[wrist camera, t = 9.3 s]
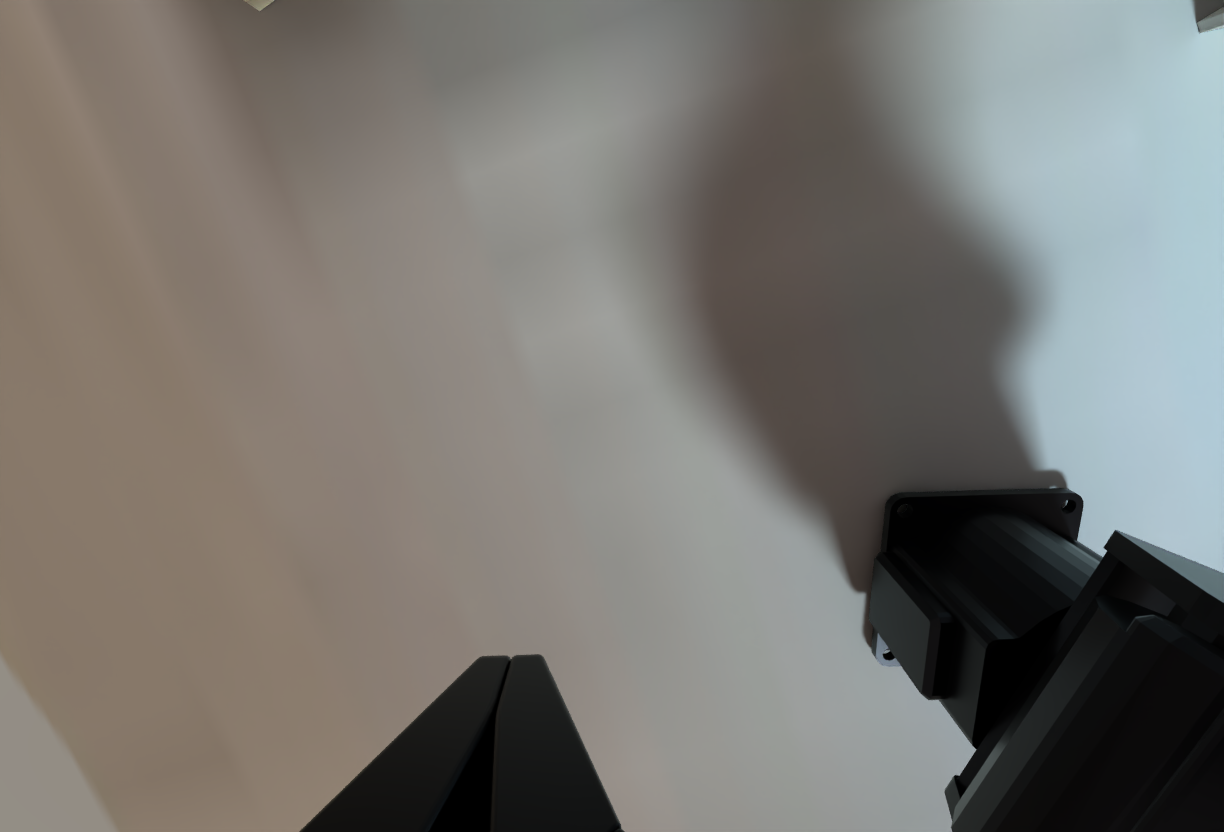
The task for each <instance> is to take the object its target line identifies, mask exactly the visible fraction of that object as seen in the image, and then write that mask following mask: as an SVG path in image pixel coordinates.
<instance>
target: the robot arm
mask: <svg viewBox="0 0 1224 832" xmlns="http://www.w3.org/2000/svg"><path fill="white" fill-rule="evenodd" d="M1066 500H1068V503H1067V505H1066V506H1065V507H1064V508H1061V506H1062V503H1063V502H1065V501H1066ZM904 504H907V509H906V510H905V511H904V512H903V513H898V512H897V511H898V509H899V507H900V506H901V505H904ZM1082 511H1083V500H1082V498H1081V496H1079V495H1078V494H1076V493H1075V492H1073V491H1071V490H1069V489H1065V488H1052V489H1015V490H978V491H941V492H904V493H897V494H894V495H893V496H891V497H890V498H889V499H888V501H887V502H886V506H885V514H884V524H883V534H882V544H881V552H880V553H878V555H877V556H876V557H875V559H874V569H873V579H872V590H871V600H870V611H869V621H870V623H871V624H872V625H873V636H872V646H871V649H872V653H873V655H874V656H875V658H876V659H877V661H878V662H879V663H880V664H881V665H883V666H902V668H903V669H904V671H905V672H906V674H907V675H908V676H909V678H910V679H911V681H912V682H913V683H914V685H915V686H916V688H917V689H918V690H919V692H920V693H921V694H922V695H923V696H924V697H925V698H927V699H928V700H939V701H940V702H941V703H942V705H943V706H944V708H945V709H946V710H947V712H948V713H949V714H950V716H951V717H952V718H953V720H954V721H955V723H956V724H957V725H958V727H959V728H960V729H961V731H962V732H963V733H964V735H965V736H966V737H967V739H968V740H969V742H970V743H971V744H972V746H973V747H975V748H976V749H977V750H976V752H975V753H974V755H973V756H972V758H971V759H970V761H969V762H968V764H967V765H966V767H965V768H964V770H963V771H962V773H961V774H960V776H958V775H955V776H954V777H953V778H952V780H951V781H950V783H949V784H948V786H947V787H946V789H945V796H946V799H947V803H948V807H949V811H950V814H951V818H952V826H951V828H952V832H1224V573H1222V572H1219V571H1217V570H1214V569H1212V568H1209V567H1207V566H1204V565H1202V564H1199V563H1197V562H1194V561H1192V560H1189V559H1187V558H1185V557H1182V556H1180V555H1177V554H1175V553H1172V552H1170V551H1167V550H1165V549H1162V548H1160V547H1157V546H1155V545H1152V544H1150V543H1147V542H1145V541H1142V540H1140V539H1137V538H1135V537H1132V536H1130V535H1127V534H1125V533H1123V532H1120V531H1117V530H1115V531H1114V533H1113V534H1112V536H1111V537H1110V539H1109V540H1108V542H1107V543H1106V545H1105V546H1104V548H1105V549H1106V550H1107V552H1106V554H1105V555H1104V557H1102V556H1100V555H1098V554H1097V553H1095V552H1094V551H1092V550H1091V549H1089V548H1087V547H1086V546H1084V545H1083V544H1081V543H1079V542H1078V541H1077V538H1078V533H1079V527H1080V522H1081V516H1082ZM888 648H889V649H890V652H888V653H885V654H883V652H884V651H885V650H886V649H888ZM300 832H624V831H623V830H622V829H621V824H620V822H619V820H618V818H617V816H616V813H615V811H614V809H613V807H612V805H611V802H610V800H609V798H608V796H607V794H606V792H605V789H604V787H603V785H602V783H601V781H600V779H599V776H598V774H597V772H596V770H595V768H594V765H593V763H592V761H591V759H590V757H589V755H588V752H587V750H586V748H585V746H584V744H583V742H582V739H581V737H580V735H579V733H578V731H577V729H576V726H575V724H574V722H573V720H572V718H571V715H570V713H569V711H568V709H567V707H566V705H565V702H564V700H563V698H562V696H561V694H560V692H559V689H558V687H557V685H556V683H555V681H554V679H553V676H552V674H551V672H550V670H549V668H548V665H547V663H546V661H545V659H544V657H543V656H542V655H539V654H535V655H516V656H514V657H512V659H510V657H509V656H482V657H480V658H478V659H477V660H476V661H475V662H474V663H473V664H472V665H471V666H470V667H469V668H468V669H466V670H465V671H464V672H463V673H462V674H461V675H460V676H459V677H458V678H457V679H456V680H455V681H454V682H453V683H452V684H451V685H450V686H449V687H448V688H447V689H446V690H445V691H444V692H443V693H442V694H441V695H440V696H439V697H438V698H437V699H436V700H435V701H434V702H432V703H431V704H430V705H429V706H428V707H427V708H426V709H425V710H424V711H423V712H422V713H421V714H420V715H419V716H418V717H417V718H416V719H415V720H414V721H413V722H412V723H411V724H410V725H409V726H408V727H407V728H406V729H405V730H404V731H403V732H402V733H401V734H399V735H398V736H397V737H396V738H395V739H394V740H393V741H392V742H391V743H390V744H389V745H388V746H387V747H386V748H385V749H384V750H383V751H382V752H381V753H380V754H379V755H378V756H377V757H376V758H375V759H374V760H373V761H372V762H371V763H370V764H369V765H368V766H367V767H365V768H364V769H363V770H362V771H361V772H360V773H359V774H358V775H357V776H356V777H355V778H354V779H353V780H352V781H351V782H350V783H349V784H348V785H347V786H346V787H345V788H344V789H343V790H342V791H341V792H340V793H339V794H338V795H337V796H336V797H335V798H334V799H332V800H331V801H330V802H329V803H328V804H327V805H326V806H325V807H324V808H323V809H322V810H321V811H320V812H319V813H318V814H317V815H316V816H315V817H314V818H313V819H312V820H311V821H310V822H309V823H308V824H307V825H306V826H305V827H304V828H303V829H302V830H301V831H300Z"/></svg>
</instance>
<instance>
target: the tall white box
mask: <svg viewBox="0 0 1224 832" xmlns="http://www.w3.org/2000/svg"><path fill="white" fill-rule="evenodd" d="M1197 24H1198V27H1199V30H1200V33H1203V32H1207V31H1212V30H1217V29H1221V28H1224V7H1222V8H1220V9H1219V10H1217V11H1215V12H1214V13H1212V14H1210V15H1209V16H1207V17H1206V18H1204V19H1202V20H1201V21H1199V22H1197Z"/></svg>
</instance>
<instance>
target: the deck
mask: <svg viewBox="0 0 1224 832" xmlns="http://www.w3.org/2000/svg"><path fill="white" fill-rule="evenodd" d="M244 1H245V2H247V3H248V4H250V5H251V6H253V7H254V8H256V9H257V10H259V11H261V10H262V9H264V8H265V7H266V6H268V5H269V4H270V3H272V2H273V1H274V0H244Z"/></svg>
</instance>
